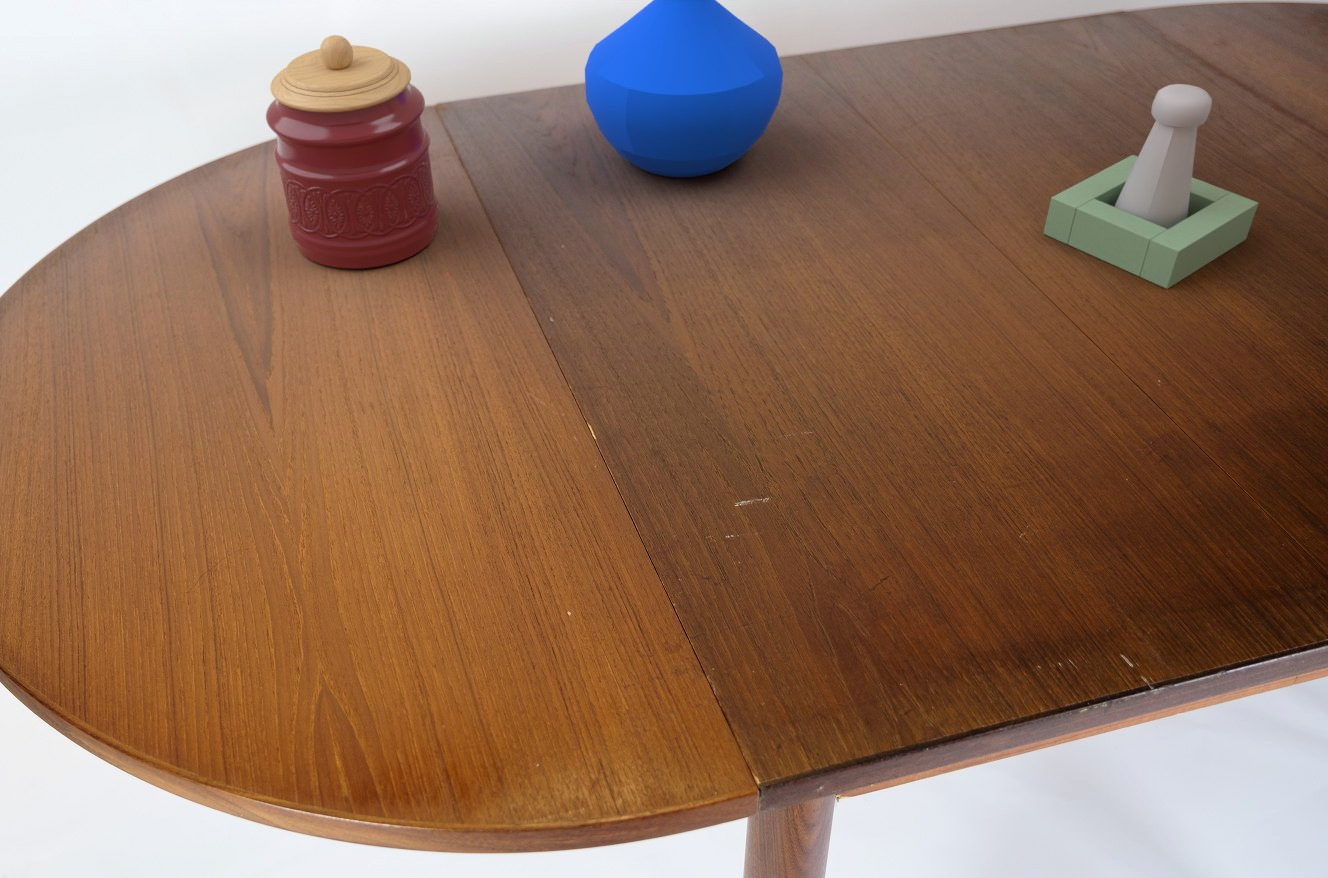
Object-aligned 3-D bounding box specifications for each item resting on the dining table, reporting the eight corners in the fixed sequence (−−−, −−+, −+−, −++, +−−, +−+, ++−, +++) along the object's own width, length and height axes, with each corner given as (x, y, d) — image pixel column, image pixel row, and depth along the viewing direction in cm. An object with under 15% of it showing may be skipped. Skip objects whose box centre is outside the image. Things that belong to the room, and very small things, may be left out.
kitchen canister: (430, 190, 116) (405, -1, 104) (451, 260, 106) (426, 57, 95) (289, 210, 113) (248, 17, 102) (297, 282, 104) (252, 78, 92)
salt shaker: (1150, 261, 103) (1195, 112, 95) (1093, 234, 107) (1131, 88, 98) (1193, 239, 106) (1240, 92, 97) (1135, 213, 109) (1176, 69, 101)
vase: (777, 115, 126) (790, -83, 113) (776, 203, 112) (792, -12, 100) (598, 111, 128) (592, -84, 115) (576, 197, 114) (566, -15, 101)
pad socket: (1246, 239, 105) (1259, 202, 103) (1166, 289, 100) (1178, 251, 98) (1123, 190, 112) (1132, 154, 110) (1042, 233, 107) (1051, 197, 105)
